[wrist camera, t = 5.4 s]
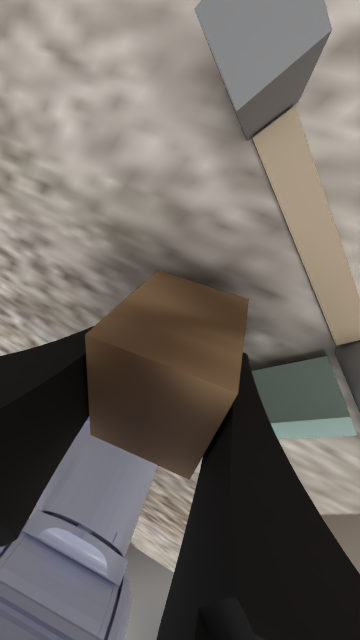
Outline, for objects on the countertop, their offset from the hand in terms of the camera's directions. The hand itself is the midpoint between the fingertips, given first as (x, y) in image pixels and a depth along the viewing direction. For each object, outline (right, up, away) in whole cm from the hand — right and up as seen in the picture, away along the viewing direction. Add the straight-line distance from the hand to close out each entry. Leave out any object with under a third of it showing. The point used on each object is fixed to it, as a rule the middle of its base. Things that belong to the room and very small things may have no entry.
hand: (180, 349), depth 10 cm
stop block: (0, +1, +1) cm, 2 cm away
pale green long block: (+4, -3, +5) cm, 7 cm away
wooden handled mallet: (+8, +2, +2) cm, 9 cm away
